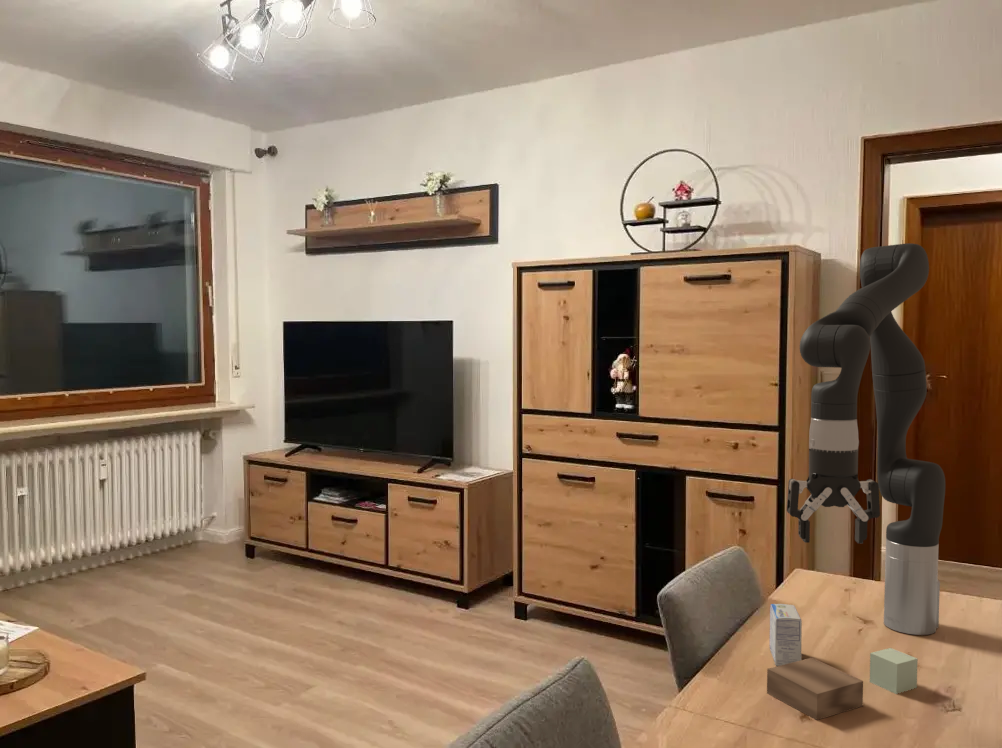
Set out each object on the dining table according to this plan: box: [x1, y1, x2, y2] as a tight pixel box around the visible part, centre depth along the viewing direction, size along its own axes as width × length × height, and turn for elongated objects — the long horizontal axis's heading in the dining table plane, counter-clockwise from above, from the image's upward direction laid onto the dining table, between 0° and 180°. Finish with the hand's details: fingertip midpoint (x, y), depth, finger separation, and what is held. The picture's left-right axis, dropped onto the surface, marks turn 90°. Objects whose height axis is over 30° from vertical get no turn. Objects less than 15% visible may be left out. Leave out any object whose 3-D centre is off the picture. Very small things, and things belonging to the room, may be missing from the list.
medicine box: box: [769, 603, 803, 667], centre depth 142 cm, size 8×4×9 cm, turn 168°
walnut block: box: [766, 657, 864, 721], centre depth 126 cm, size 10×10×4 cm
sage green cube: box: [869, 647, 919, 695], centre depth 132 cm, size 5×5×5 cm
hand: (832, 541), depth 133 cm, fingers open, 8 cm apart
